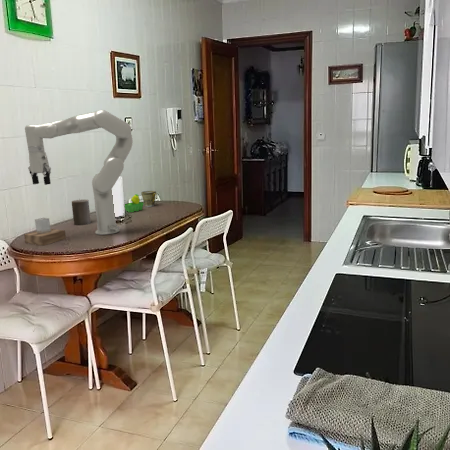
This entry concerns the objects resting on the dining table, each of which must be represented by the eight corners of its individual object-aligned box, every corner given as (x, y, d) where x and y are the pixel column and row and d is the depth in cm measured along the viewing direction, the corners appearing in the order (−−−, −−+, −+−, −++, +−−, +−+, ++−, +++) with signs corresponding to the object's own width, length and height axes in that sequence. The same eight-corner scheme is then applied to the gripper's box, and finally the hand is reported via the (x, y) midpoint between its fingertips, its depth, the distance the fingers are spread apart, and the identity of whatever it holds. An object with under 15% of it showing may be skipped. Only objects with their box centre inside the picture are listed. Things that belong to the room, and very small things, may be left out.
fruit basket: (137, 209, 329) (135, 192, 327) (146, 210, 323) (144, 193, 321) (123, 212, 321) (121, 195, 319) (132, 213, 315) (130, 195, 313)
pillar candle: (74, 226, 286) (71, 200, 283) (73, 223, 295) (70, 198, 292) (92, 224, 290) (89, 198, 286) (89, 221, 299) (87, 196, 295)
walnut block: (66, 239, 255) (64, 230, 254) (43, 246, 244) (41, 236, 243) (48, 237, 263) (47, 228, 262) (25, 244, 251) (24, 234, 250)
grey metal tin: (50, 231, 253) (49, 218, 251) (42, 233, 249) (40, 220, 247) (45, 230, 256) (43, 217, 254) (36, 232, 252) (34, 219, 250)
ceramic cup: (139, 207, 337) (137, 192, 334) (149, 204, 344) (148, 190, 342) (152, 208, 329) (151, 193, 327) (163, 205, 337) (162, 191, 334)
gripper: (53, 148, 244) (58, 183, 247) (32, 149, 254) (38, 182, 257) (40, 150, 238) (45, 185, 242) (19, 151, 248) (25, 185, 251)
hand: (41, 184), depth 249 cm, fingers open, 9 cm apart
